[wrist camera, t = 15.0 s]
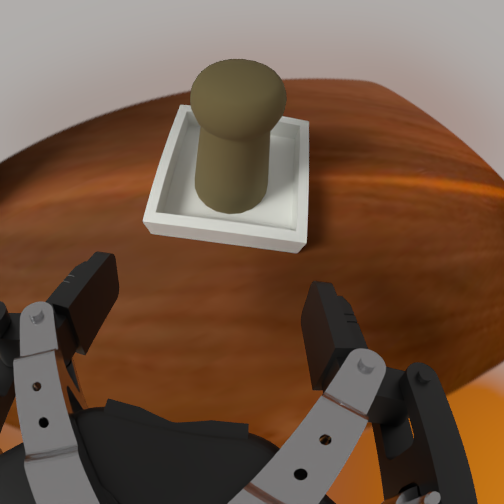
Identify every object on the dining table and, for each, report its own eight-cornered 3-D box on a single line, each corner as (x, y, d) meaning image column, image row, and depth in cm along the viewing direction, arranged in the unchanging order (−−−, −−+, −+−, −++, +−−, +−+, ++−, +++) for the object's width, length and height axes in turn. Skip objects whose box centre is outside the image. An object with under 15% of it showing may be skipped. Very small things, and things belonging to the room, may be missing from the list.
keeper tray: (151, 233, 21) (142, 221, 18) (183, 123, 24) (180, 104, 22) (297, 253, 22) (306, 243, 19) (301, 138, 25) (308, 121, 22)
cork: (227, 140, 23) (234, 36, 13) (282, 178, 23) (321, 78, 12) (179, 184, 22) (155, 80, 11) (235, 229, 21) (249, 134, 11)
